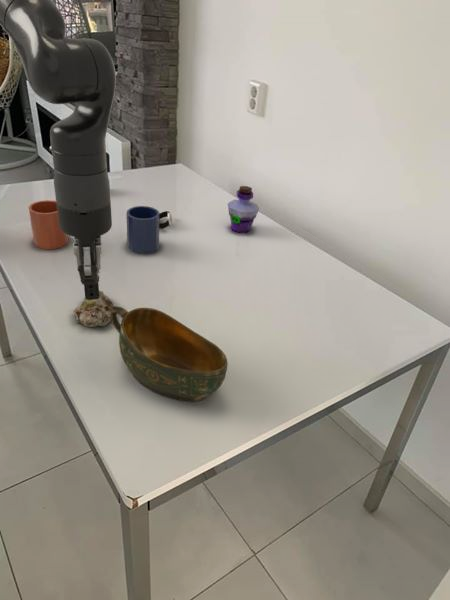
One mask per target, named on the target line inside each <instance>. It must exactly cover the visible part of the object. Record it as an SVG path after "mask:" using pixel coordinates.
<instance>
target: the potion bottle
mask: <svg viewBox="0 0 450 600" xmlns="http://www.w3.org/2000/svg"><path fill="white" fill-rule="evenodd" d="M236 197H237V199H233V200H231V201H229V202H227V208H228V209H227V210H228V215H229V218H230V229H231V231H232V232H235V233H237V234H247V233H249V232H251V229H252V226H253V223H254V221H255V219H256V218H257V215H258V213H259V210H260V207H259V206H258V204H257V203H256V202H254V201H251V200H253V198H254V192H253V188H252V187H251V186H248V185H241V186H239V188H238V190H237V191H236Z"/></svg>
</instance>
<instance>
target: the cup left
mask: <svg viewBox="0 0 450 600" xmlns="http://www.w3.org/2000/svg"><path fill="white" fill-rule="evenodd" d="M28 215H29V220H30V226H31V232H32V238H33V244H34V245H35V246H36V247H37V248H39V249H44V250H56V249H59V248H63V247H64V246H66V245H67V244H68V242H69V238H68V236H69V235H67V234H65V233H64V232H62V231H61V229H60V227H59V220H58V212H57V204H56V200H38V201H35V202H32V203H31V204H29V206H28Z"/></svg>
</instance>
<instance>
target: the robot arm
mask: <svg viewBox="0 0 450 600" xmlns="http://www.w3.org/2000/svg"><path fill="white" fill-rule="evenodd" d="M0 26H1V27H2V29H3V30H4V32H5V33H6V34H7V35H8V37H9V38H10V39H11V41H12V43H13V45H14V47H15V49H16V53H17V54H18V56H19V59H20V62H21V64H22V67H23V71H24V73H25V77H26V80H27V82H28V85H29V86H30V88H31V90H32V91H33V93H34V94H35V95H36V96H38V97H39V98H40V99H42V100H43V101H45V102H47V103H49V104H52V105H66V104H67V105H68V104H75V106H74V110H73V112H72V113H71V114H70V115H69V116H66V117H65V118H62V119H61V120H59V121H56V122H55V123H54V124H52V126H51V127H50V130H49V138H50V139H49V140H50V147H51V155H52V164H53V188H54V195H55V201H56V204H57V212H58V220H59V227H60V229H61V231H62V232H64V233H65V234H67V236H69V237H72V238H73V240H74V242H73V244H72V245H73V246H72V247H73V254H74V256H75V259H76V267H77V272H78V275H79V279H80V283H81V285H83V288H84V289H83V290H84V298H86V299H87V300H95V299H99V291H100V286H99V285H100V283H99V282H100V275H99V274H100V270H101V269H102V268H101V266H102V265H101V264H102V263H101V261H102V259H101V258H102V257H101V255H102V237H101V236H103V235H105V234H107V233H108V232H109V231H110V230H111V229H112V226H113V219H112V218H113V217H112V203H111V184H110V177H109V172H108V162H107V161H108V160H107V145H106V136H107V131H108V128H109V123H110V117H111V113H112V109H113V108H112V107H113V102H114V98H115V92H116V85H117V73H116V67H115V63H114V59H113V58H112V55H111V53H110V51H109V50H108V48H107V47H106V46H105V45H104V44H103V43H102V42H101V41H99V40H97V39H93V38H84V37H83V38H81V37H80V38H66V35H67V34H66V33H67V25H66V20H65V18H64V15H63V14H62V12H61V10H60V9H59V8H58V6H57V5H56V4H55V2H54V1H53V0H0Z"/></svg>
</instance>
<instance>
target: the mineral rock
mask: <svg viewBox="0 0 450 600" xmlns="http://www.w3.org/2000/svg"><path fill="white" fill-rule="evenodd" d="M114 306H115V305H114V303H113V302H112V300H111V299H110V298H109V296H107V295H105V294H104V291H102V290H99V299H95V300H87V299H86V298H85V297H84V299H83V300H82V302H81V304H79V306H77V307H76V308H74V310H73V313H74V316H75V319H76V320H75V321H76V323H78V324H79V323H80V324H82V325H83V326H85V327H89V328H93V327H98V326H99V327H105V326H107V324H110V323H111V318H110V314H111V311H112V310H113V307H114Z"/></svg>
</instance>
